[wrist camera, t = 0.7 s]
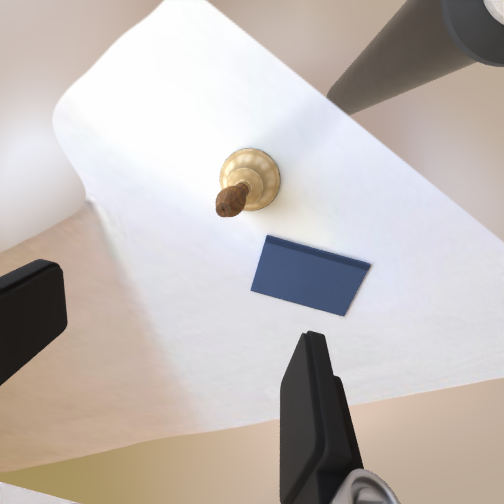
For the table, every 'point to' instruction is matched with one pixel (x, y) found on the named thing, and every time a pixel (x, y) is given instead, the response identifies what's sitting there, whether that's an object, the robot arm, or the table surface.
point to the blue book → (308, 276)
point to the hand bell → (247, 182)
